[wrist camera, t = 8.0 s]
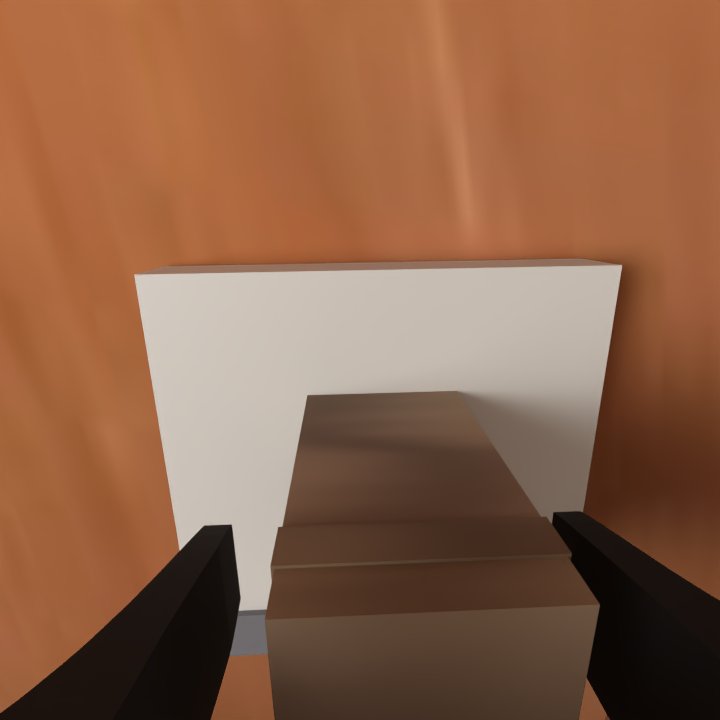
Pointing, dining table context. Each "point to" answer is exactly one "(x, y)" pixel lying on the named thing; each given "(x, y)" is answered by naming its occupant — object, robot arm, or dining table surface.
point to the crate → (419, 574)
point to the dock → (365, 377)
